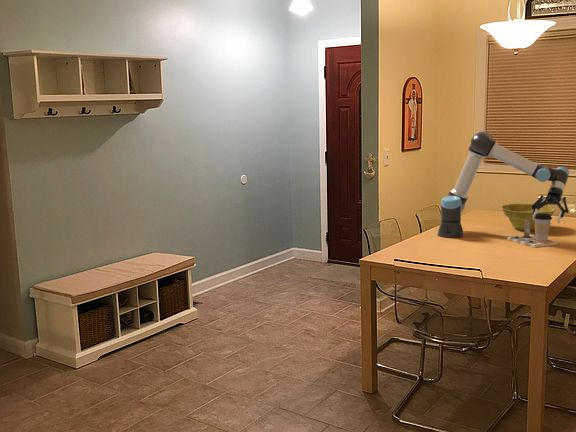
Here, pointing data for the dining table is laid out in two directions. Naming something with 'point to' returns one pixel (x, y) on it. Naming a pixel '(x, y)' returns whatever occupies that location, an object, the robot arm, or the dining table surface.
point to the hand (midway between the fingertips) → (545, 220)
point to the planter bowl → (524, 214)
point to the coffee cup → (542, 226)
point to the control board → (530, 238)
